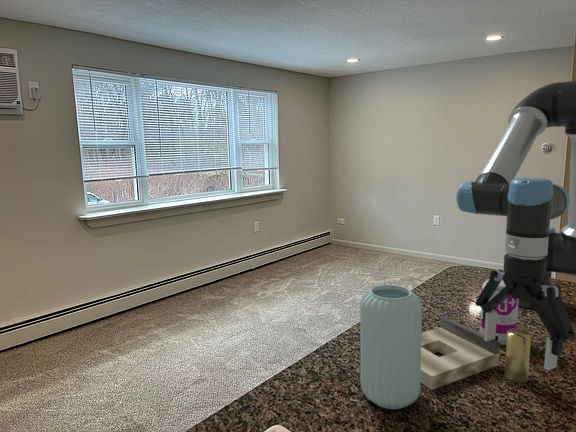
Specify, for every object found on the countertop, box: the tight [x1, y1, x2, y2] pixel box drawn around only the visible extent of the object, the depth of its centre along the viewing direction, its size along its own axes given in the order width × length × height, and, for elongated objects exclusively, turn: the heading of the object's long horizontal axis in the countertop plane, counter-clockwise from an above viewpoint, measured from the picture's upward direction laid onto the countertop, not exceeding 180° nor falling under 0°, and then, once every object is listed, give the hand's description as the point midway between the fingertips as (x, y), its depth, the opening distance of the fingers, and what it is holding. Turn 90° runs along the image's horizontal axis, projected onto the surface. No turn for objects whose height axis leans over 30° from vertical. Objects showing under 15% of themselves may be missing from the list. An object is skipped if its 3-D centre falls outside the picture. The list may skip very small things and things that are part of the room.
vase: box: [359, 284, 423, 410], centre depth 82 cm, size 12×12×22 cm
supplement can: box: [479, 277, 519, 346], centre depth 106 cm, size 8×8×15 cm
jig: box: [420, 316, 501, 391], centre depth 97 cm, size 20×16×6 cm
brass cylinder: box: [504, 328, 532, 384], centre depth 88 cm, size 4×4×10 cm
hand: (517, 353), depth 88 cm, fingers open, 13 cm apart
